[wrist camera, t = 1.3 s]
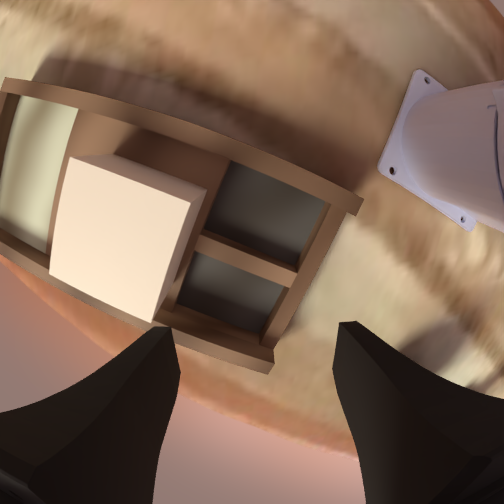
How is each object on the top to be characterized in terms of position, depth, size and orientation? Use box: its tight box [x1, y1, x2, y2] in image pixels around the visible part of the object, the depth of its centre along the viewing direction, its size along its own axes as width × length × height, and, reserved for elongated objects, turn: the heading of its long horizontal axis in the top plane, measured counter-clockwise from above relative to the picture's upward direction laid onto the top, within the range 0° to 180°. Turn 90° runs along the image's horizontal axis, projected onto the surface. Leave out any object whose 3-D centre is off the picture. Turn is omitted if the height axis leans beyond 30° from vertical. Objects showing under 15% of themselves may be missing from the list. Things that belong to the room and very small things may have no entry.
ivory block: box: [49, 154, 207, 323], centre depth 14 cm, size 6×6×4 cm
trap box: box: [0, 77, 364, 374], centre depth 16 cm, size 24×12×3 cm, turn 67°
